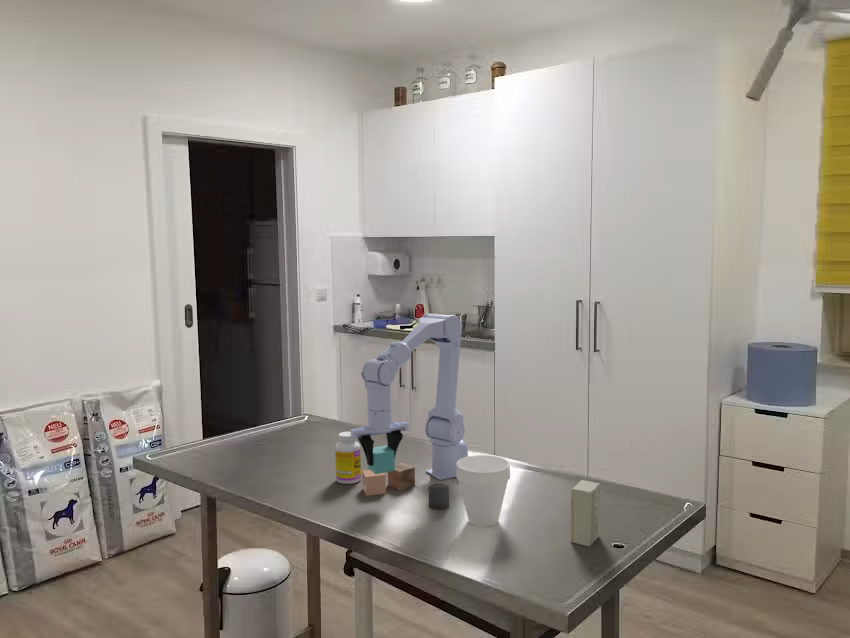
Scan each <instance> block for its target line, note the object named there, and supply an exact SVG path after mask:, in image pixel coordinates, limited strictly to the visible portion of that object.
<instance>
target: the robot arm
mask: <svg viewBox="0 0 850 638" xmlns="http://www.w3.org/2000/svg"><path fill="white" fill-rule="evenodd" d="M462 330H463V323H462V322H461V320H460V319H459V317H458V316H457V315H455V314H439V313H438V314H436V313H430V312H427V313H425V314H423V315H422V317H420V318H418V320H417V325H416V326H415V327H414V328H413V329H412V330H411V331H410V333H408V335H406V337H404V339H403V340H402V341H391V343H390V344H389V346H388V347H387V348H386V349H385V350H384V351H383V352H382V353H379V354H378V356H377V357H376V358H375V359H374V358H371V359H369V360H368V361H366V362H365V363H364V365H363V366H362V371H361V372H360V375H361V377H362V380H363V381H364V388H365V389H366V392H367V396H366V397H367V403H366V404H367V425H363V426H360V427H357V428H353V429H352V428H351V429H350V432H351V438H353V439H356V440H358V443H359V444H360V446H361V448H362V449H363V452H364V454H365V458H366V464H367V466H368V465H370V466H373V448H374V444H375V440H374V439H372V436H378V435H384V434H386V435H385V436H386V440H387V442H386V443H387V446H388V447H389V448H391V449H392V450H394V461H395V459H396V455H397V451H398V448H399V445H400V444H401V442H402V440H403V437H404V436H403V435H404V434H403V433H402V432H409V426H410V425H409V422H407V421H396V422H395V421H393V422H392V394H391V393H392V390H391V389H392V387H391V386H392V385H391V384H393V382H394V381H395V379H396V376H397V373H398V371H399V370H400V369H401V368H402V367H403V366H404V365H405V364H407V363H408V361H410V360H411V356H412V353H411V352H414V350H416V349H417V348H418V347H420V346H421V345H422V344H423V343H425V342H426V341H427V340H428V339H429V340H430V341H432V342H433V343H435V345H436V346H437V348H439V358H438V369H437V371H438V372H437V384H436V386H437V387H436V395H435V396H436V398H435V406H434V407H433V408H431V409H430V410H429V411H428V413H427V419H426V421H425V424H424V433H425V435H426V437H427V438H429V442H430V443H431V468H428V469H426V471H425V472H427V474H429V475H430V476H432V477H434V478H435V479H437V480H438V481H441V480H448V479H453V478H457V477H456V470H457V465H456V463H457V461H459V460H460V459H462V458H464V457H468V455H469V452H468V451H469V450H468V445H467V443H466V442H465V440H463V438H464V435H465V425H464V414H462V413H461V412H460V411H459V409H457V407H456V404H457V403H456V402H457V390H458V377H459V376H458V375H459V364H460V351H461V344H462V343H461V342H462V332H463V331H462Z"/></svg>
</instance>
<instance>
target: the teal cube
mask: <svg viewBox="0 0 850 638" xmlns="http://www.w3.org/2000/svg"><path fill="white" fill-rule="evenodd" d="M395 465H396V463H395V460H394V450H392V449H391V448H389V447H388V445H381V446H373V466H370V465H368V464H367V470H371V471H372V472H374V473H375V474H380V473H384V474H385V473H388V472H390V471H395Z"/></svg>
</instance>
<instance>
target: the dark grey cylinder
mask: <svg viewBox="0 0 850 638" xmlns="http://www.w3.org/2000/svg"><path fill="white" fill-rule="evenodd" d="M427 487H428V490H427V491H428V509H430V510H433V511H445V510H448V509H449V508H450V485H448V484H447V483H444V482H443V483H442V482H435V483H431V484H429V485H428V486H427Z"/></svg>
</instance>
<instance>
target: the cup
mask: <svg viewBox="0 0 850 638" xmlns="http://www.w3.org/2000/svg"><path fill="white" fill-rule="evenodd" d="M456 465H457V470H456V477H455V478H456V479H457V480H458V482H459V489H460V492H461V496H462V500H463V503H464V508H465V511H466V516H467V520H468V523H469V524H470V525H472V526H476V527H478V528H479V527H482V528H488V527H493V526H496V525H497V524H498V523H499V520H500V517H501V516H500V515H501V512H502V508H503V502H504V498H505V494H506V491H507V487H508V486H507V485H508V482H509V480H510V479H511V466H510V465H511V463H510V461H509V460H507V459H505V458H503V457H501V456H500V457H499V456H497V455H496V456H495V455H489V454H486V455H485V454H480V455H478V454H477V455H469V456H468V457H464V458H462V459H460V460H459V461H457V463H456Z"/></svg>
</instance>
